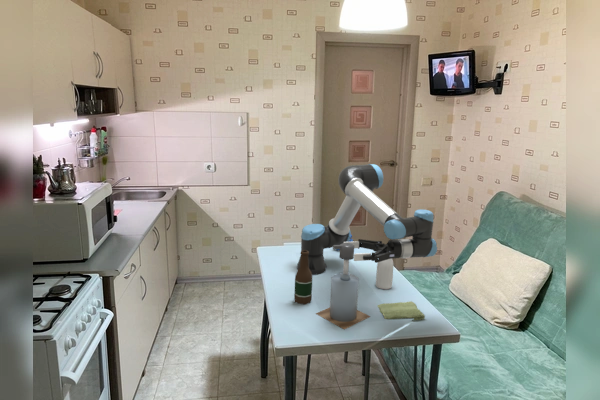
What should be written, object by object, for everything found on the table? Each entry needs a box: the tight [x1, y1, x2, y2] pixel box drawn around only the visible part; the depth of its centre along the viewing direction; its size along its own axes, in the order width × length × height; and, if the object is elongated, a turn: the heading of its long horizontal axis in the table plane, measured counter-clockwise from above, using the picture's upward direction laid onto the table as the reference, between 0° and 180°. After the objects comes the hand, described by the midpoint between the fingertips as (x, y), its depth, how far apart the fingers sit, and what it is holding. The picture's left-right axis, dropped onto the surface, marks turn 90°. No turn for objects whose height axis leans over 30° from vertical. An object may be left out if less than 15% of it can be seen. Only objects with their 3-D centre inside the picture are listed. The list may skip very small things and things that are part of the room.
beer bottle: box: [293, 250, 313, 305], centre depth 183 cm, size 8×8×24 cm
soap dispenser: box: [329, 271, 360, 322], centre depth 172 cm, size 11×11×18 cm
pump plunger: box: [332, 243, 355, 275], centre depth 167 cm, size 6×8×12 cm
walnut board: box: [315, 306, 371, 330], centre depth 174 cm, size 16×16×1 cm
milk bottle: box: [375, 259, 394, 290], centre depth 202 cm, size 8×8×20 cm
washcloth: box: [377, 300, 426, 322], centre depth 178 cm, size 13×18×3 cm
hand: (348, 251), depth 167 cm, fingers open, 13 cm apart
